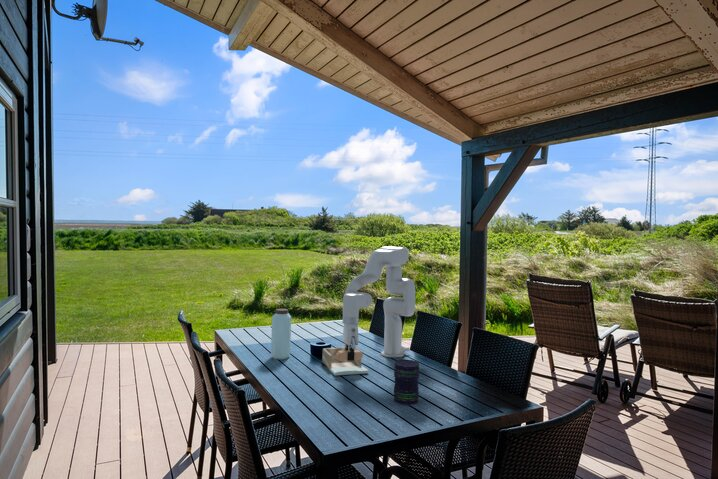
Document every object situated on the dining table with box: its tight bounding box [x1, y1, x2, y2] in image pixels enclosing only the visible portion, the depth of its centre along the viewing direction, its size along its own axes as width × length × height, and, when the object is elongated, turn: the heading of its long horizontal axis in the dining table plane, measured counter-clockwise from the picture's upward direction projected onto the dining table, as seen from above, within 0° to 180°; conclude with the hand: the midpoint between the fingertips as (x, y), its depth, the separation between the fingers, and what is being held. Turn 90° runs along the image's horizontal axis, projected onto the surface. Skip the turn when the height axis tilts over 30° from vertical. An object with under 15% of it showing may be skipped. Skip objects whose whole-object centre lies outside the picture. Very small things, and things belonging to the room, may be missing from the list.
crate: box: [321, 346, 362, 371], centre depth 223 cm, size 16×14×7 cm
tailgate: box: [329, 365, 369, 376], centre depth 211 cm, size 16×1×9 cm
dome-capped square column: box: [335, 349, 364, 361], centre depth 211 cm, size 13×4×4 cm, turn 108°
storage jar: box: [393, 355, 420, 406], centre depth 176 cm, size 10×10×18 cm
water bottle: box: [270, 308, 292, 360], centre depth 234 cm, size 10×10×25 cm
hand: (349, 358), depth 211 cm, fingers closed on dome-capped square column, 4 cm apart
